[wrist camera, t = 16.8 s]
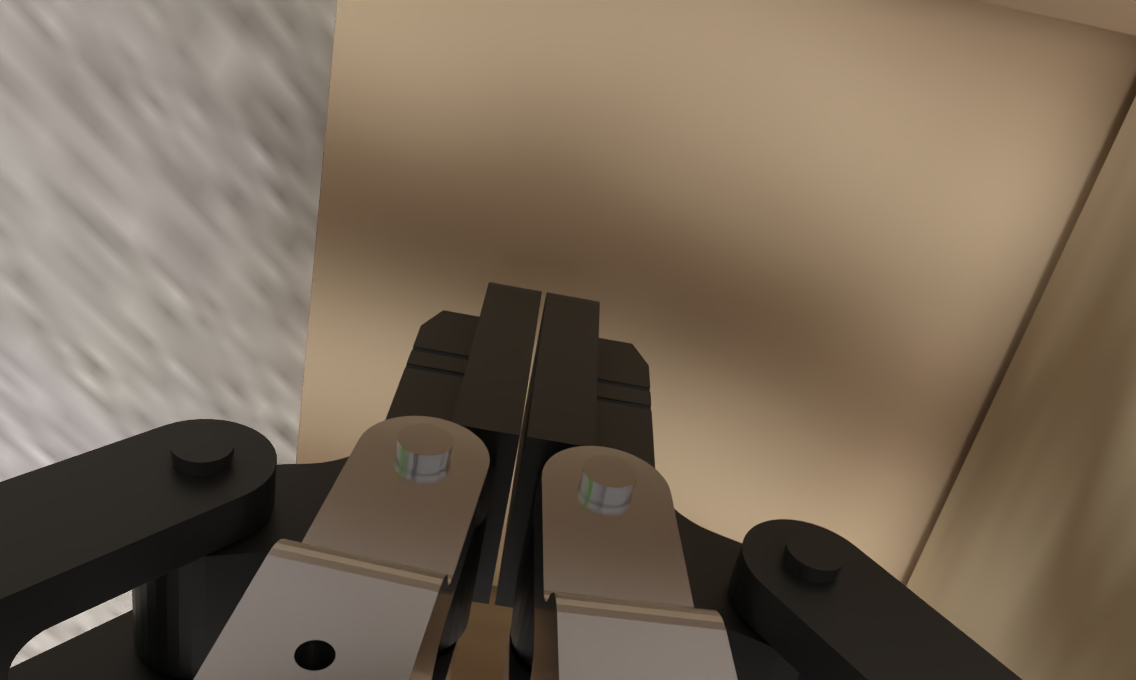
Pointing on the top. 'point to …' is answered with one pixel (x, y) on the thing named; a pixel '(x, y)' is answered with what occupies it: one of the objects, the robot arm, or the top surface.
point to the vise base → (720, 226)
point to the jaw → (1056, 468)
